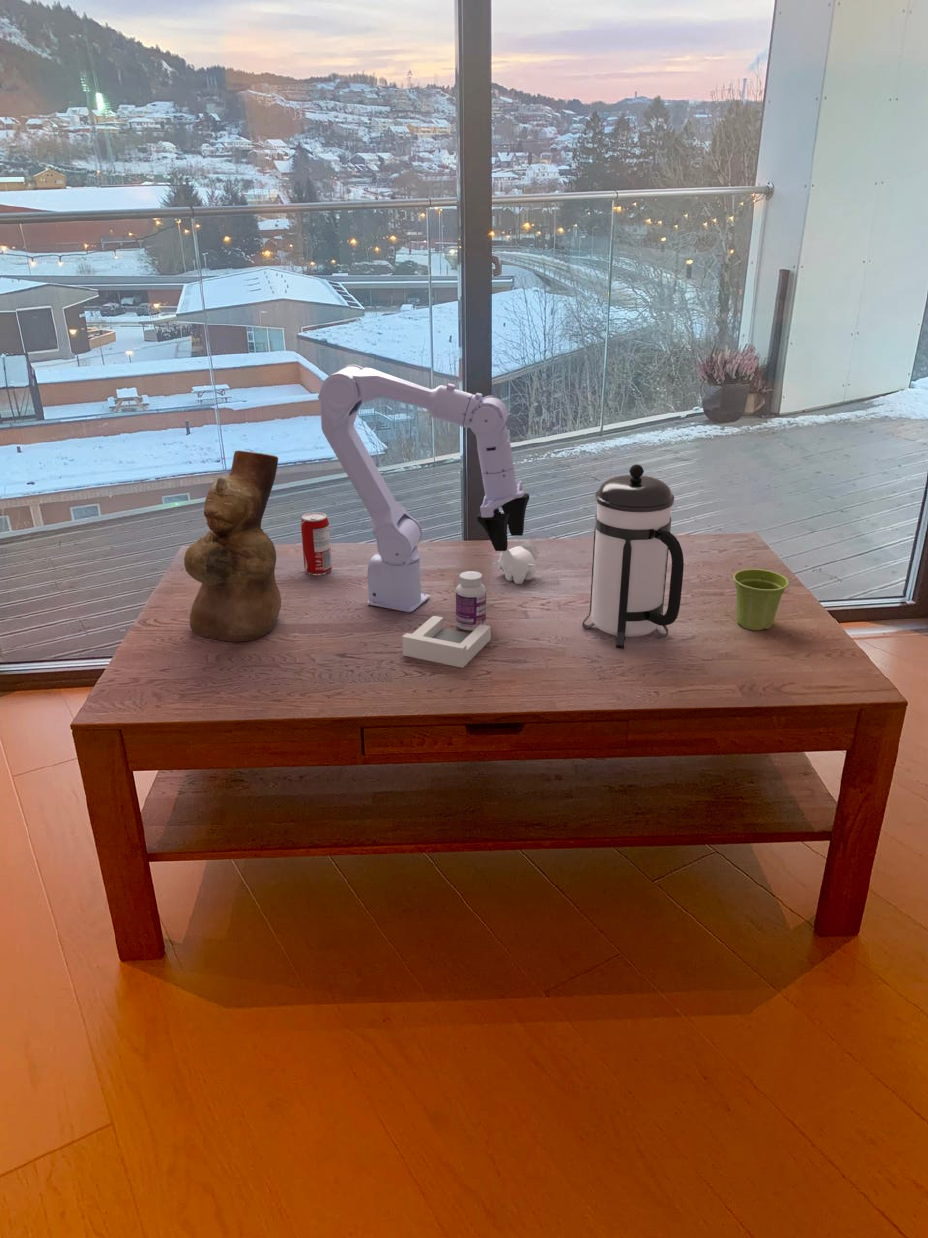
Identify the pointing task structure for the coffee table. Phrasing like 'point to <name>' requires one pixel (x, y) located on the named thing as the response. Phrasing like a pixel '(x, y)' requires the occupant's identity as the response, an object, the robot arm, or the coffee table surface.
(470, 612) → the pill bottle
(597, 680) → the coffee table surface
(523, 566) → the elephant figurine
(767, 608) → the plant pot
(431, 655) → the cradle
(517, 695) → the coffee table surface
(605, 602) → the coffee press
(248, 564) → the ceramic vessel
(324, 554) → the soda can
